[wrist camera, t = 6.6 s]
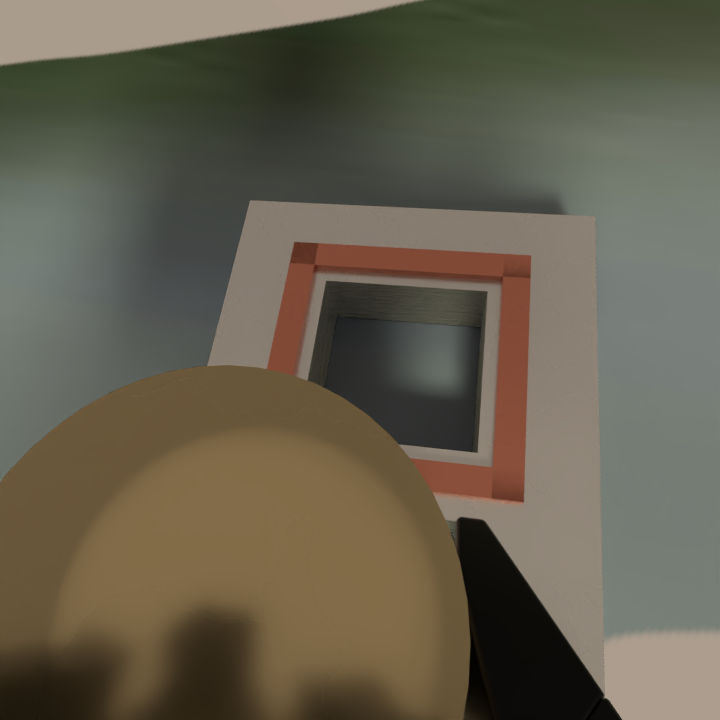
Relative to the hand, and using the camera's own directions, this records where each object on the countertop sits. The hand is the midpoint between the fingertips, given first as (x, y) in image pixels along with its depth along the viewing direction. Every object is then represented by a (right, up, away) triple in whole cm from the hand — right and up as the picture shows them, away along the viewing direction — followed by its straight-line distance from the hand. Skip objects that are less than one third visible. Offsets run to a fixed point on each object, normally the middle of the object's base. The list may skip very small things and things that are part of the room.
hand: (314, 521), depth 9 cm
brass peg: (0, -4, +5) cm, 7 cm away
